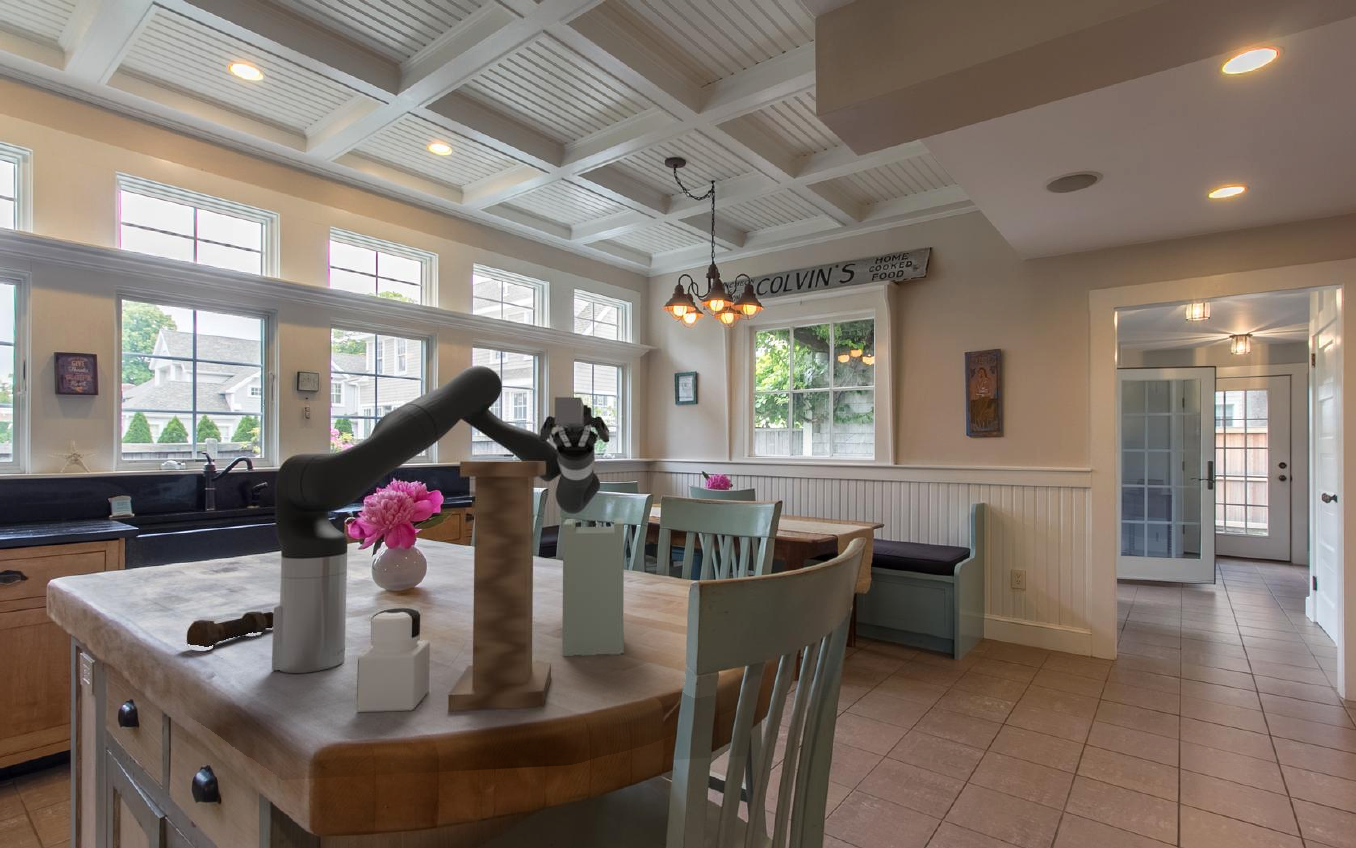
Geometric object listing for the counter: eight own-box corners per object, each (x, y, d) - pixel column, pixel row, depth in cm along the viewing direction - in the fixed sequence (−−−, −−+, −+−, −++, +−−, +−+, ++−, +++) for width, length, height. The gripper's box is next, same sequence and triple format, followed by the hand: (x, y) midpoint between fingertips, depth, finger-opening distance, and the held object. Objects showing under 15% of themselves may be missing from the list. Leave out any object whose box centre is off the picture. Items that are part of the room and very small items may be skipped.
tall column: (448, 711, 84) (452, 461, 86) (467, 679, 96) (471, 461, 97) (543, 706, 85) (545, 461, 87) (550, 676, 97) (552, 461, 99)
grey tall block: (562, 656, 107) (563, 524, 108) (566, 639, 117) (566, 518, 118) (623, 654, 108) (623, 523, 109) (622, 637, 118) (622, 518, 119)
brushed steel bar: (554, 423, 100) (554, 397, 101) (563, 428, 124) (563, 407, 124) (580, 423, 101) (581, 397, 101) (584, 428, 125) (584, 407, 125)
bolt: (275, 640, 124) (199, 660, 110) (258, 625, 126) (180, 643, 111) (289, 613, 124) (214, 631, 110) (272, 599, 125) (195, 614, 111)
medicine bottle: (376, 693, 90) (378, 605, 91) (429, 691, 91) (431, 604, 92) (355, 713, 83) (358, 618, 84) (413, 711, 84) (415, 616, 84)
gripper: (541, 439, 135) (534, 391, 120) (610, 439, 136) (612, 392, 122) (539, 471, 131) (532, 425, 116) (611, 470, 132) (612, 426, 118)
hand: (573, 408), depth 119 cm, fingers closed on brushed steel bar, 4 cm apart
